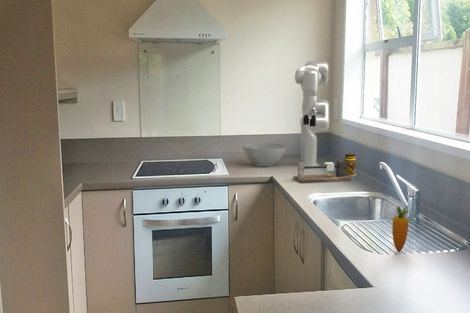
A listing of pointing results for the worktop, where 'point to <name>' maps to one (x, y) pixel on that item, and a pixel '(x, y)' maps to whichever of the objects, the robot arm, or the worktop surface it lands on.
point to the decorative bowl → (264, 153)
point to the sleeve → (329, 166)
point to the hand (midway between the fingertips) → (309, 125)
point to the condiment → (350, 164)
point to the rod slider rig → (336, 177)
